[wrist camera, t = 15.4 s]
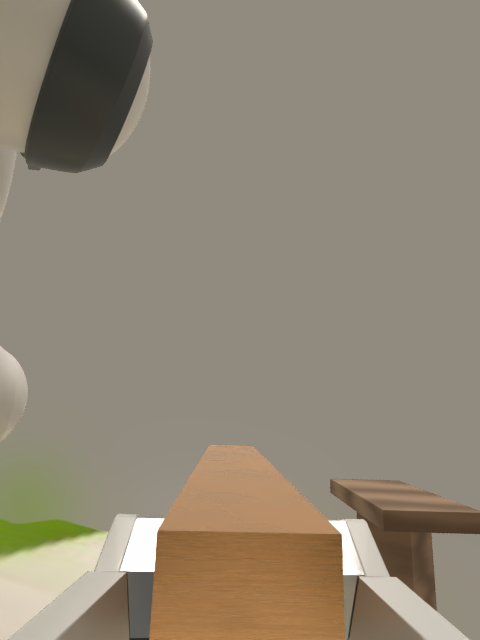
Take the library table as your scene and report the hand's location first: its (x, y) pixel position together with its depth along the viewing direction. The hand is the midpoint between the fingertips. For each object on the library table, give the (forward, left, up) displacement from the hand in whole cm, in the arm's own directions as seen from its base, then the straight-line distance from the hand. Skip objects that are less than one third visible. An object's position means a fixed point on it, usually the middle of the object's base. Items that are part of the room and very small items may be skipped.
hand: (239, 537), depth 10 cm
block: (+5, +5, -2) cm, 7 cm away
